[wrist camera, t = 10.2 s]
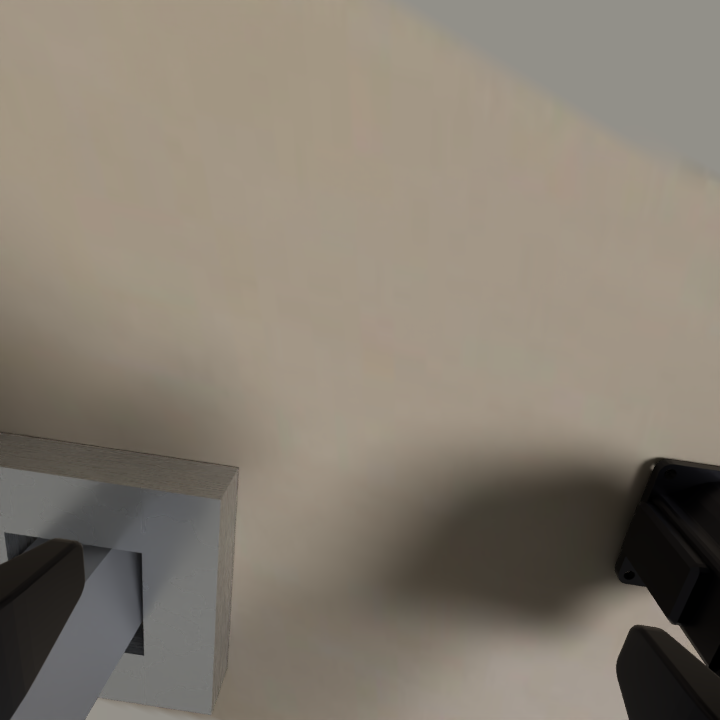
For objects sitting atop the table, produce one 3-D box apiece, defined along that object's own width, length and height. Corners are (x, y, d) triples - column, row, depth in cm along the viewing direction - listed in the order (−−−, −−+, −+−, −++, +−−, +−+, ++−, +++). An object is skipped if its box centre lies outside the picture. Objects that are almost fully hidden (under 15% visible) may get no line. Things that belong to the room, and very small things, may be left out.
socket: (238, 467, 22) (217, 505, 19) (227, 668, 26) (208, 723, 24) (-35, 427, 22) (-94, 459, 20) (-2, 633, 27) (-48, 683, 24)
